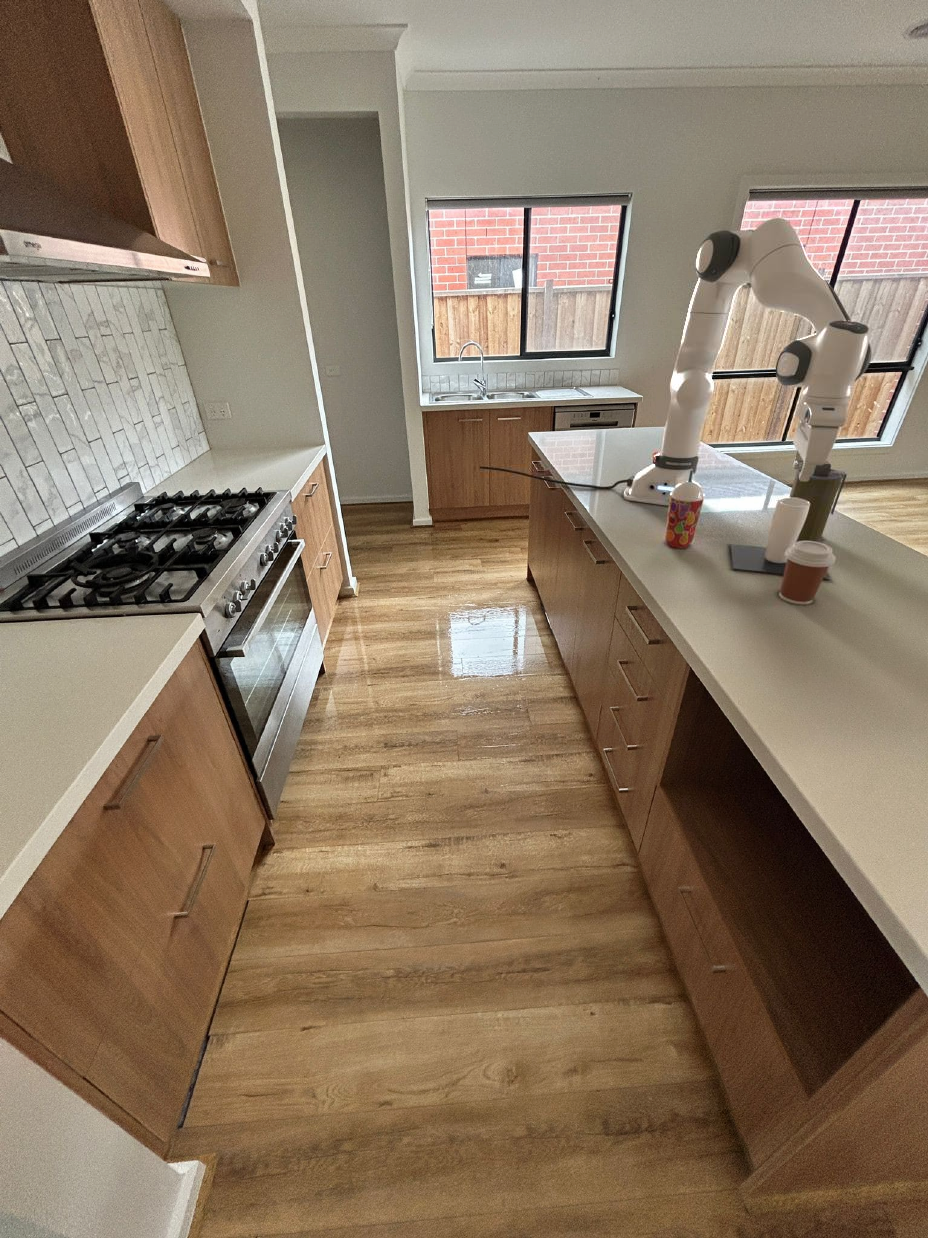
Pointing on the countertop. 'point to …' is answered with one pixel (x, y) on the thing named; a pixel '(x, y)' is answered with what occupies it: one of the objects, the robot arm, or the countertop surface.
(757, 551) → the place mat
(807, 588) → the coffee cup
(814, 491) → the canister
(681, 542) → the smoothie
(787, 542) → the white tapered cylinder
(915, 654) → the countertop surface
